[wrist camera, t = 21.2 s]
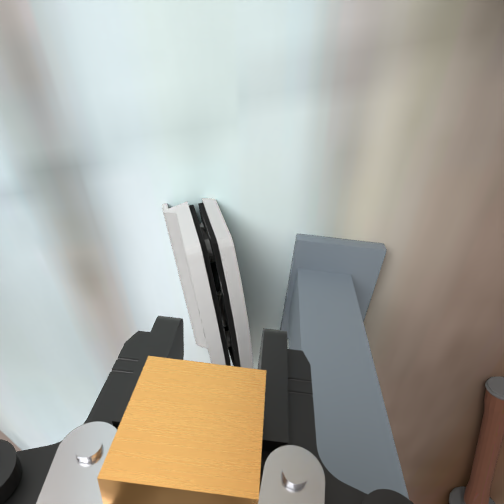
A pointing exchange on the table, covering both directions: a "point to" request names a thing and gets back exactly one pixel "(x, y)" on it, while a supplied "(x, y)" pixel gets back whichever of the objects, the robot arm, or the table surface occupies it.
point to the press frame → (342, 358)
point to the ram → (188, 436)
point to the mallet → (485, 448)
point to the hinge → (210, 281)
